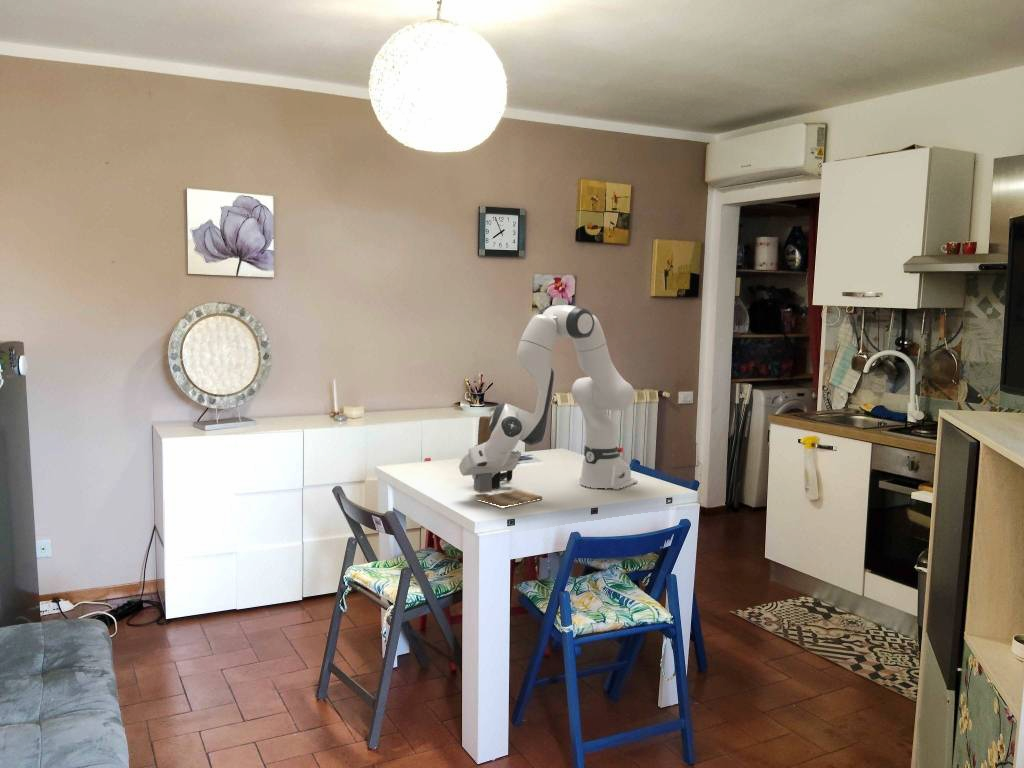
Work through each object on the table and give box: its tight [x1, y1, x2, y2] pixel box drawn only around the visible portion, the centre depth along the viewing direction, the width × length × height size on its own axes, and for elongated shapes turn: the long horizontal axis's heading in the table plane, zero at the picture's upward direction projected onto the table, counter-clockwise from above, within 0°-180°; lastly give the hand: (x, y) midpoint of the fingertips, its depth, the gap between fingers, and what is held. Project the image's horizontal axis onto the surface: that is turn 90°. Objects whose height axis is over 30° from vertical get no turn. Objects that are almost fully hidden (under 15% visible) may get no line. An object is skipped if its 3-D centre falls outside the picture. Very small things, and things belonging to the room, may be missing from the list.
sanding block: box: [473, 473, 493, 494], centre depth 279 cm, size 4×4×9 cm
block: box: [477, 415, 492, 445], centre depth 325 cm, size 11×8×20 cm
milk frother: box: [473, 444, 514, 490], centre depth 295 cm, size 14×16×15 cm
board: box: [477, 489, 543, 506], centre depth 273 cm, size 18×12×1 cm, turn 134°
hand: (482, 476), depth 279 cm, fingers closed on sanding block, 4 cm apart
